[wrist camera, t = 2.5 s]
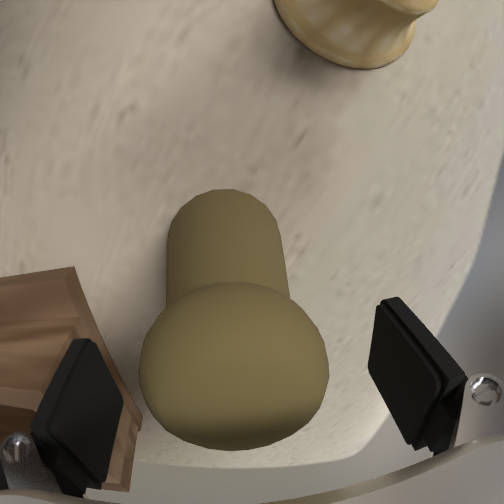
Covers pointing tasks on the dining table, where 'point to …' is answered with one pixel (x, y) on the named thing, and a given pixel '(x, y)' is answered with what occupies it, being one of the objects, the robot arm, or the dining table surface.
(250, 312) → the cork
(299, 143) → the dining table surface
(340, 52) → the hand bell
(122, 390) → the caddy
